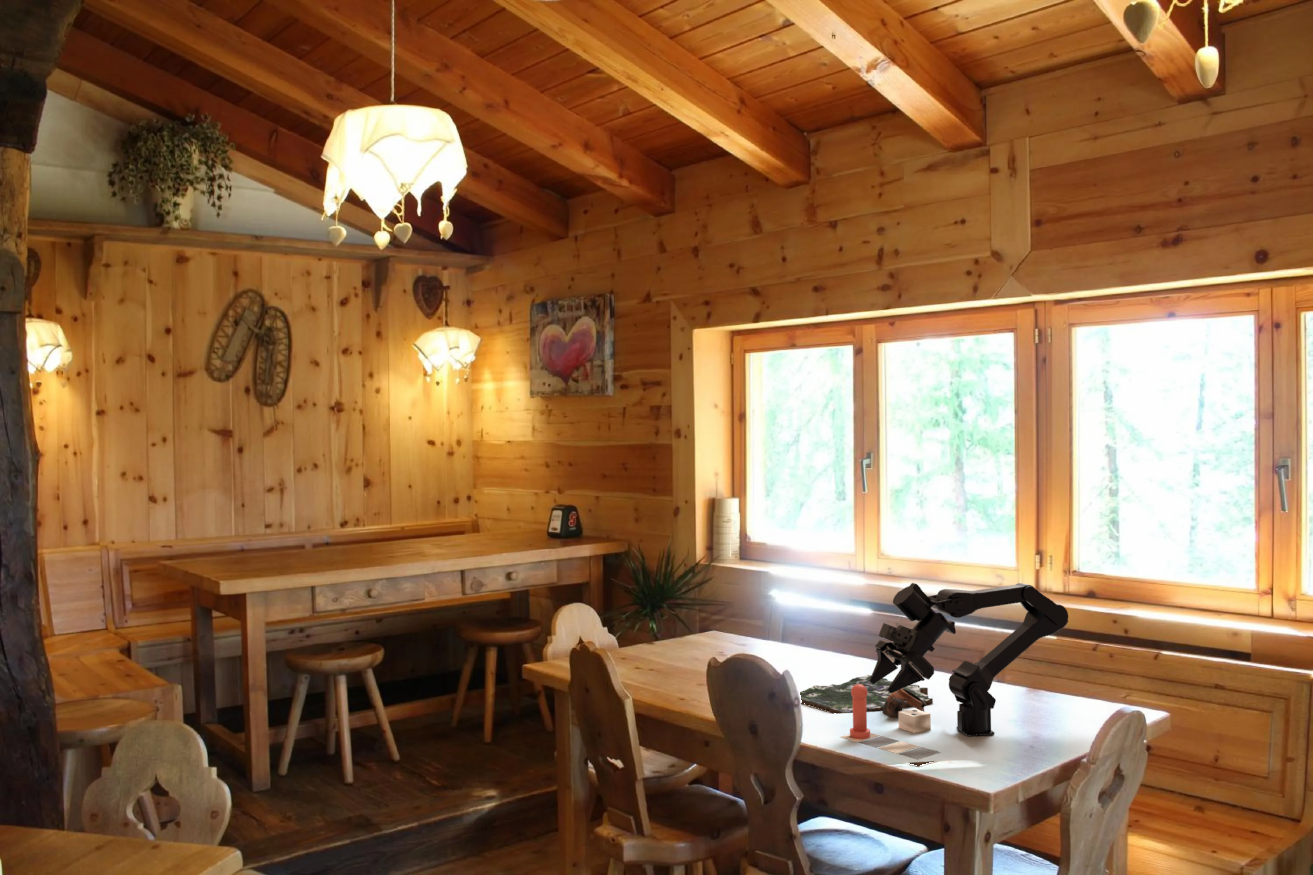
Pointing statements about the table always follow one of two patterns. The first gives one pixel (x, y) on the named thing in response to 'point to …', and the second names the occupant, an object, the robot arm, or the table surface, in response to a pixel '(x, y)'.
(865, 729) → the pawn
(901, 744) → the game board
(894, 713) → the pottery mug
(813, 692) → the topographical map
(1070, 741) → the table surface
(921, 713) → the die
